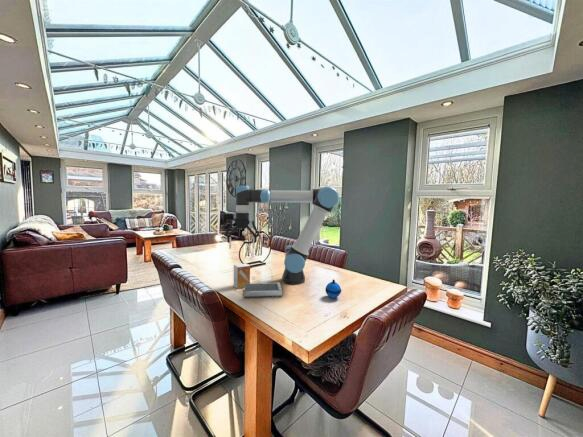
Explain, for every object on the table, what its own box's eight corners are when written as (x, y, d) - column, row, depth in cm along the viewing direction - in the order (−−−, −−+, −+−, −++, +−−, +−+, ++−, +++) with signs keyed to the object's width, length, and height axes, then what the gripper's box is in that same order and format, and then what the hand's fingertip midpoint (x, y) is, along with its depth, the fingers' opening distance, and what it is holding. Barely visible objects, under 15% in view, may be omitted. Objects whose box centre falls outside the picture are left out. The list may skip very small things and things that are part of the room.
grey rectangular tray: (279, 288, 147) (279, 281, 147) (281, 297, 134) (282, 289, 134) (244, 289, 144) (244, 282, 143) (244, 298, 131) (244, 291, 131)
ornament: (322, 295, 139) (323, 277, 138) (335, 293, 142) (336, 276, 141) (330, 301, 131) (331, 283, 130) (344, 299, 134) (344, 281, 133)
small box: (237, 289, 144) (237, 267, 143) (233, 285, 149) (233, 264, 148) (250, 286, 148) (250, 265, 147) (245, 283, 154) (246, 263, 153)
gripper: (263, 212, 151) (262, 246, 152) (221, 211, 146) (220, 246, 148) (264, 213, 143) (263, 249, 145) (219, 212, 139) (219, 249, 141)
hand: (242, 248), depth 147 cm, fingers open, 13 cm apart
